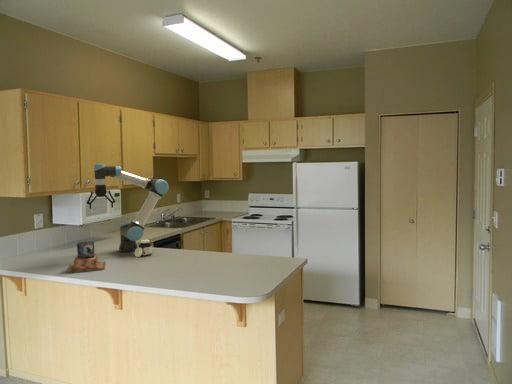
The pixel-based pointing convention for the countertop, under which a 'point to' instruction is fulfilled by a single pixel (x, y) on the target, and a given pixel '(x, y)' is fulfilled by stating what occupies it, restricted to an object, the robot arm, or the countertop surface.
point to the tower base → (99, 267)
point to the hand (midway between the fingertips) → (101, 212)
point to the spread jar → (144, 248)
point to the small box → (85, 249)
